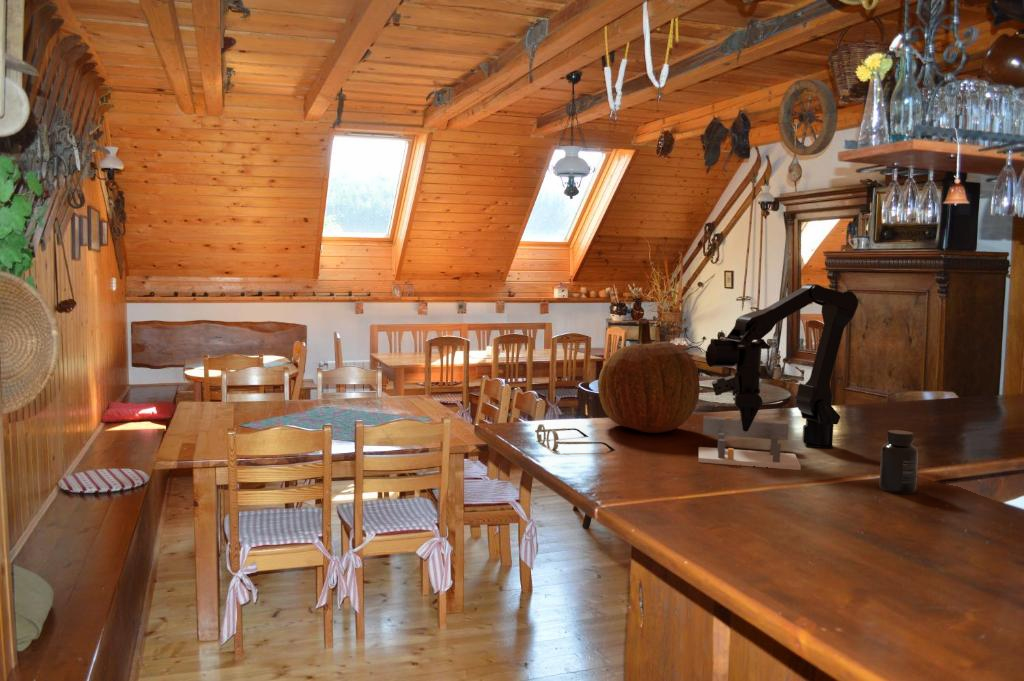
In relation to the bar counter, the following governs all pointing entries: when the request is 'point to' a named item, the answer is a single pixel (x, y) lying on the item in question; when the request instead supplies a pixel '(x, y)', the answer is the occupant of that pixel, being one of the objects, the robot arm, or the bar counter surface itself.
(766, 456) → the collar stand
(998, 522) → the bar counter surface
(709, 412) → the bar counter surface
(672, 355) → the pumpkin
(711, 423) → the grey square bar
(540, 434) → the eyeglasses
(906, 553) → the bar counter surface
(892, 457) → the supplement bottle
